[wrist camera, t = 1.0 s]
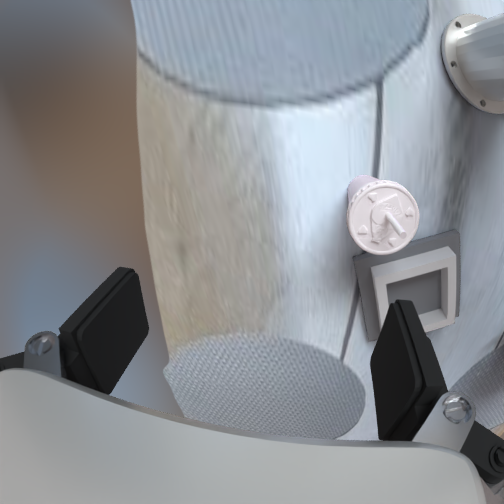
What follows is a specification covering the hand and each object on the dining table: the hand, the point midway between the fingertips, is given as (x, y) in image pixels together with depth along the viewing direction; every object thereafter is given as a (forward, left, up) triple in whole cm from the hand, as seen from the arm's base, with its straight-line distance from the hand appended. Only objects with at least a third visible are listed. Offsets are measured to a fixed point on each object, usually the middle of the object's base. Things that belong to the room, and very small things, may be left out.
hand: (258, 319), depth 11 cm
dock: (-12, +18, -25) cm, 32 cm away
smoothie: (-8, +4, -25) cm, 26 cm away
